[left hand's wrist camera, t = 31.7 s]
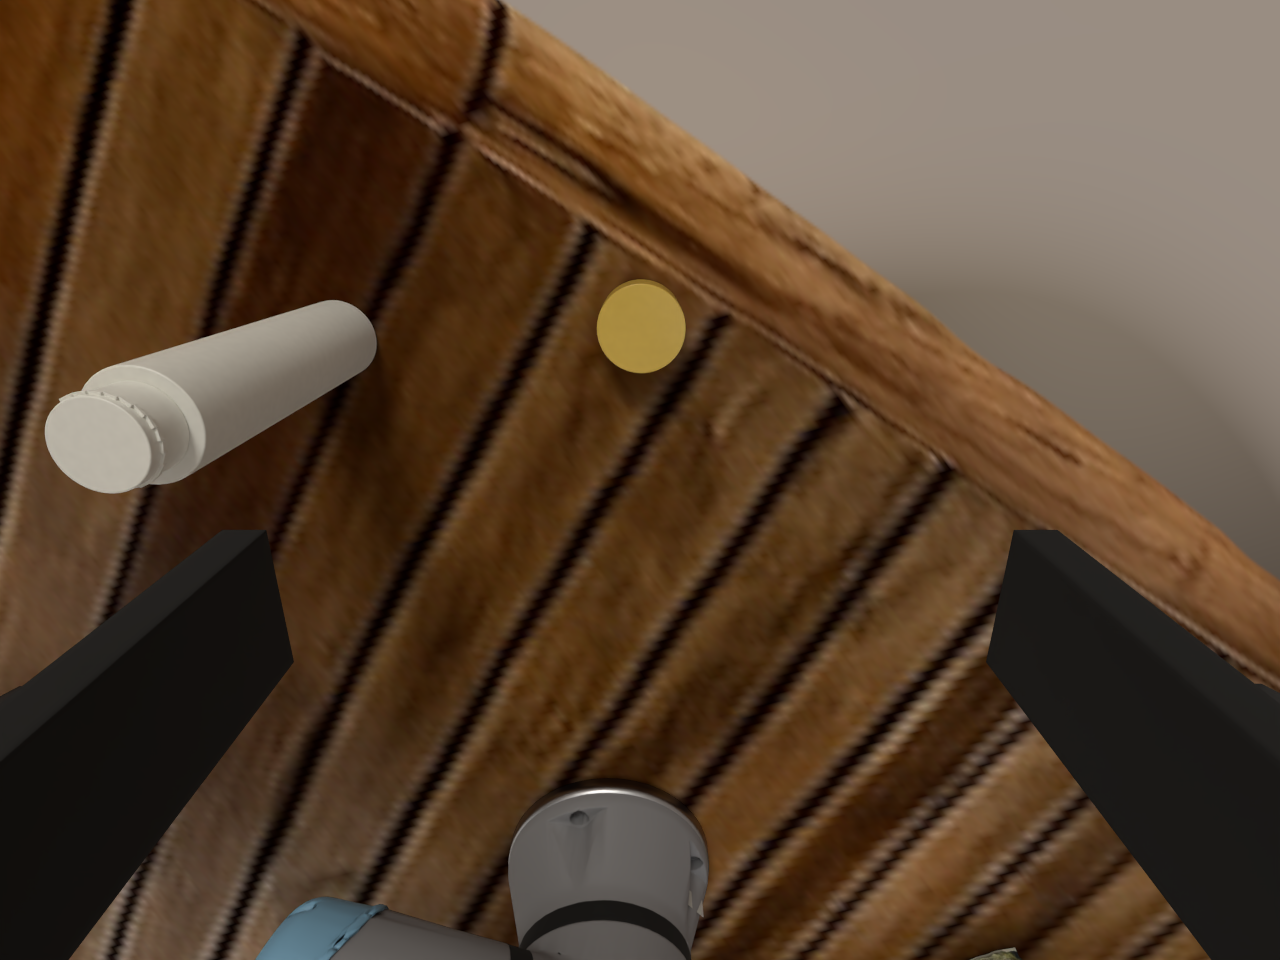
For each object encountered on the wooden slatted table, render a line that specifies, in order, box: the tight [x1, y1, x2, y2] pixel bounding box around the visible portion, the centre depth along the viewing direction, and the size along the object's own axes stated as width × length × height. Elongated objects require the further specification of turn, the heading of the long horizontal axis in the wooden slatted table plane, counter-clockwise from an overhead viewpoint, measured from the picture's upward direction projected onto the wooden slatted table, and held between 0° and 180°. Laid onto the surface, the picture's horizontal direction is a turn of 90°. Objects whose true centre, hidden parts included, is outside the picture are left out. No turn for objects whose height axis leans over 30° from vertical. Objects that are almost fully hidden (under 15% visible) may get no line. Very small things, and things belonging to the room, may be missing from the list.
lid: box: [597, 279, 686, 373], centre depth 40 cm, size 5×5×2 cm
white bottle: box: [45, 300, 377, 493], centre depth 32 cm, size 4×4×20 cm
